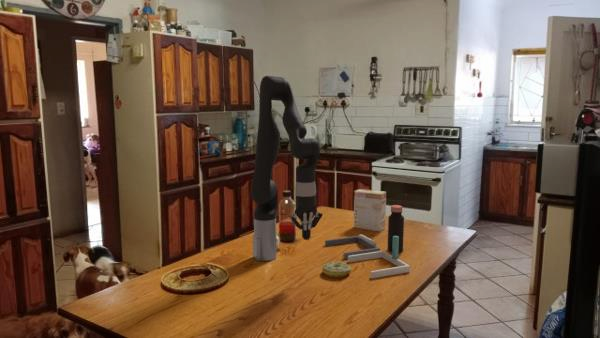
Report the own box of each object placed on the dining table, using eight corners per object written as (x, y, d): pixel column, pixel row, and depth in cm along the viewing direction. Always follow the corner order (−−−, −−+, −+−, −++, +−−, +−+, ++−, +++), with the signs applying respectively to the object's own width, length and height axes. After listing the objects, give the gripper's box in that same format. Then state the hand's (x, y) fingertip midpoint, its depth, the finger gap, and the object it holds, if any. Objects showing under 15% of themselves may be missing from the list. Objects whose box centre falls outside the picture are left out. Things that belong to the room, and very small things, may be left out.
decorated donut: (355, 273, 178) (356, 264, 177) (338, 281, 170) (339, 272, 169) (334, 266, 185) (334, 257, 184) (317, 274, 177) (317, 265, 176)
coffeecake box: (385, 228, 236) (386, 191, 233) (380, 232, 230) (381, 194, 227) (359, 224, 244) (359, 188, 241) (353, 227, 238) (353, 190, 235)
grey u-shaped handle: (344, 259, 193) (344, 248, 192) (325, 245, 210) (325, 236, 209) (380, 253, 199) (380, 243, 198) (358, 240, 216) (359, 231, 216)
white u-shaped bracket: (371, 278, 172) (372, 249, 171) (347, 261, 190) (348, 234, 188) (411, 271, 179) (412, 243, 177) (384, 255, 196) (385, 229, 195)
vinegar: (386, 251, 202) (387, 207, 198) (389, 246, 208) (390, 203, 205) (401, 253, 199) (403, 208, 196) (404, 248, 205) (405, 205, 202)
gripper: (317, 189, 173) (318, 234, 176) (285, 193, 168) (285, 238, 171) (326, 193, 167) (326, 239, 169) (292, 197, 162) (293, 244, 164)
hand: (306, 239), depth 170 cm, fingers closed
